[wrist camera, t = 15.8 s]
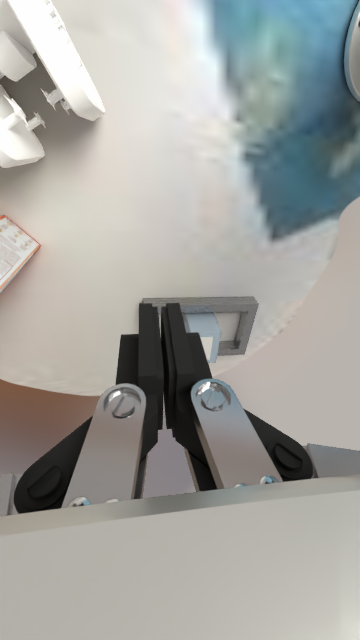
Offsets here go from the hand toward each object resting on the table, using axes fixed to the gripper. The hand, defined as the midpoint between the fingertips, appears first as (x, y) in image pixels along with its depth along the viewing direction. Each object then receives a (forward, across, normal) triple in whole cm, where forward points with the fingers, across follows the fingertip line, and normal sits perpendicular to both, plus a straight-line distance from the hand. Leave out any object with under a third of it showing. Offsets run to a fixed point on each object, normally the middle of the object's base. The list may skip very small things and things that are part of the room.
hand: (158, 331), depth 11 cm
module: (+29, -9, +21) cm, 37 cm away
